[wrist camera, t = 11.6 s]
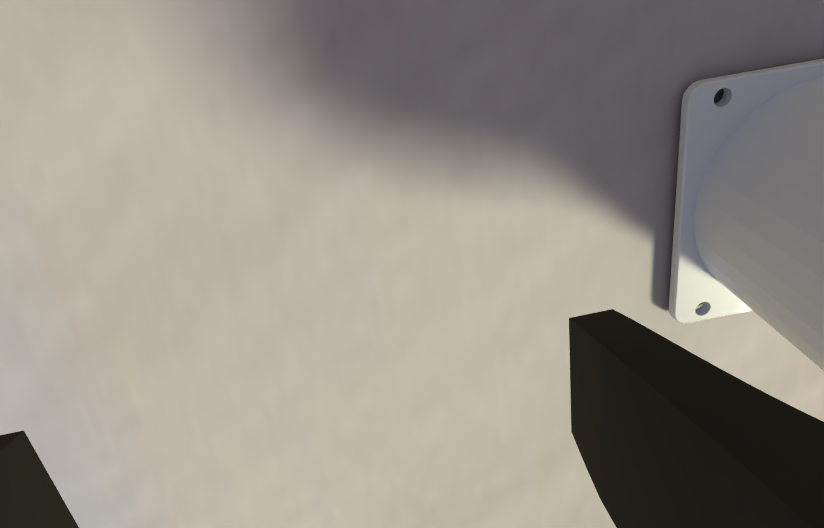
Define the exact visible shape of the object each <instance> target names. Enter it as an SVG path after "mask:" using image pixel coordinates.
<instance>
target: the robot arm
mask: <svg viewBox="0 0 824 528" xmlns="http://www.w3.org/2000/svg"><path fill="white" fill-rule="evenodd" d="M722 88H723V90H724V94H723V97H722V99H721V100H720V101H719V102H717V103H715V104H714V97H715V94H716V93H717V92H718V91H719V90H720V89H722ZM702 302H704V303H703V305H702V306H701V307H700V308H698V309H696V307H697V306H698V305H699V304H700V303H702ZM752 310H753V311H754V312H755V313H756V314H758V315H759V316H760V317H761V318H762V319H763V320H765V321H766V322H767V323H768V324H769V325H771V326H772V327H773V328H774V329H775V330H776V331H778V332H779V333H780V334H781V335H782V336H783V337H785V338H786V339H787V340H788V341H789V342H790V343H792V344H793V345H794V346H795V347H796V348H798V349H799V350H800V351H801V352H802V353H803V354H805V355H806V356H807V357H808V358H809V359H810V360H812V361H813V362H814V363H815V364H816V365H817V366H819V367H820V368H821V369H822V370H823V371H824V58H823V59H818V60H812V61H806V62H800V63H795V64H789V65H783V66H777V67H772V68H766V69H760V70H754V71H749V72H743V73H737V74H732V75H726V76H720V77H714V78H709V79H703V80H699V81H696V82H694V83H692V84H691V85H690V86H689V87H688V88H687V89H686V91H685V93H684V95H683V99H682V109H681V125H680V141H679V156H678V172H677V188H676V203H675V219H674V235H673V250H672V266H671V282H670V297H669V313H670V315H671V316H672V317H673V318H674V319H675V320H676V321H677V322H679V323H681V324H682V323H691V322H696V321H701V320H707V319H712V318H717V317H722V316H727V315H732V314H737V313H742V312H747V311H752ZM569 335H570V380H571V425H572V434H573V436H574V439H575V441H576V444H577V446H578V448H579V451H580V453H581V456H582V458H583V460H584V463H585V465H586V468H587V470H588V472H589V474H590V477H591V479H592V481H593V483H594V486H595V488H596V490H597V492H598V495H599V497H600V499H601V501H602V503H603V504H604V506H605V508H606V510H607V511H608V513H609V515H610V517H611V519H612V520H613V522H614V524H615V526H616V527H617V528H824V422H823V421H821V420H818V419H816V418H814V417H812V416H810V415H808V414H806V413H804V412H802V411H800V410H798V409H796V408H794V407H792V406H790V405H788V404H786V403H784V402H782V401H780V400H778V399H776V398H774V397H772V396H770V395H768V394H766V393H764V392H762V391H761V390H759V389H757V388H755V387H753V386H751V385H749V384H747V383H745V382H743V381H742V380H740V379H738V378H736V377H734V376H732V375H731V374H729V373H727V372H725V371H723V370H721V369H719V368H718V367H716V366H714V365H712V364H710V363H709V362H707V361H705V360H703V359H701V358H700V357H698V356H696V355H694V354H692V353H691V352H689V351H687V350H685V349H684V348H682V347H680V346H678V345H676V344H675V343H673V342H671V341H669V340H668V339H666V338H664V337H662V336H661V335H659V334H657V333H655V332H653V331H652V330H650V329H648V328H646V327H645V326H643V325H641V324H639V323H637V322H636V321H634V320H632V319H630V318H628V317H626V316H625V315H623V314H621V313H619V312H617V311H615V310H613V309H612V310H607V311H602V312H597V313H592V314H587V315H582V316H578V317H573V318H569ZM0 528H79V527H78V525H77V524H76V522H75V520H74V518H73V517H72V515H71V513H70V511H69V510H68V508H67V506H66V504H65V503H64V501H63V499H62V497H61V496H60V494H59V492H58V490H57V488H56V487H55V485H54V483H53V481H52V480H51V478H50V476H49V474H48V473H47V471H46V469H45V467H44V466H43V464H42V462H41V460H40V459H39V457H38V455H37V453H36V452H35V450H34V448H33V446H32V445H31V443H30V441H29V439H28V437H27V436H26V434H25V432H24V431H20V432H15V433H10V434H5V435H0Z"/></svg>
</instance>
